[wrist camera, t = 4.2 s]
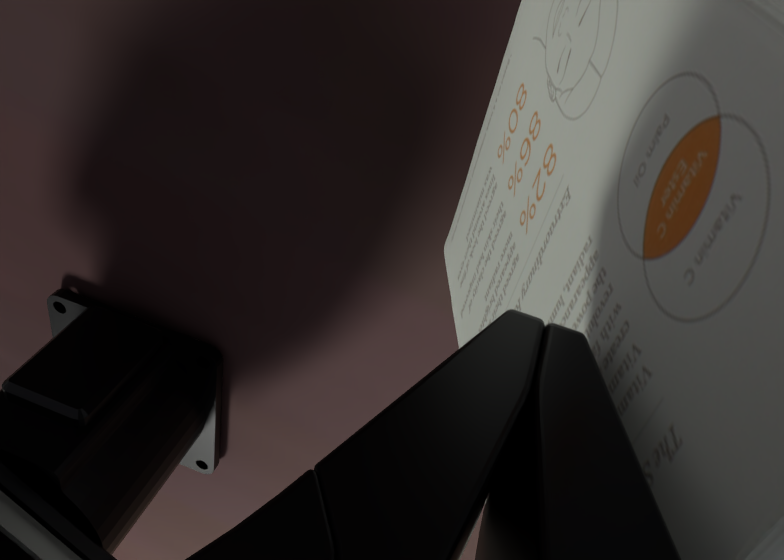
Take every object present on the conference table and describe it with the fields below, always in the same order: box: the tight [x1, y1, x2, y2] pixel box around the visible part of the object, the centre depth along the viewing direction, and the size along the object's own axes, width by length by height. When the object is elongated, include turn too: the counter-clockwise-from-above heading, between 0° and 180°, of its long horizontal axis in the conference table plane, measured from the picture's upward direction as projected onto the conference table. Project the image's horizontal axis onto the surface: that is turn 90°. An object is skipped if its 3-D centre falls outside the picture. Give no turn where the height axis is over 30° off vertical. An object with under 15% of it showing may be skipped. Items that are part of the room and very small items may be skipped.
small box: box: [444, 0, 784, 560], centre depth 10 cm, size 8×6×10 cm
